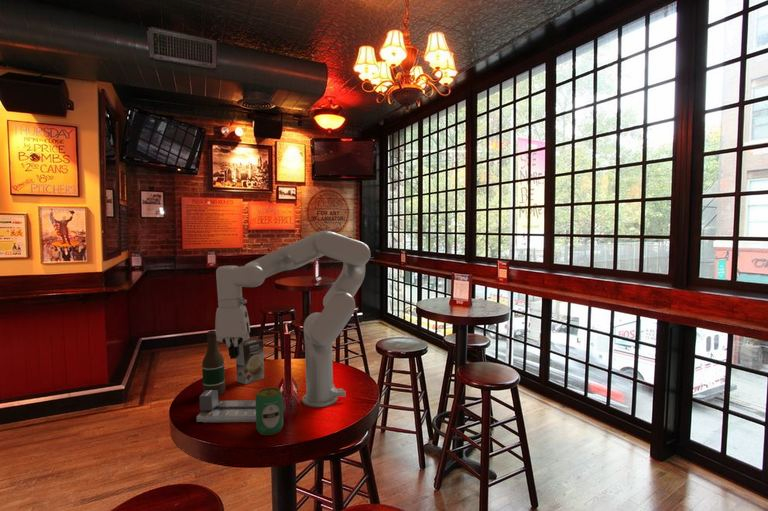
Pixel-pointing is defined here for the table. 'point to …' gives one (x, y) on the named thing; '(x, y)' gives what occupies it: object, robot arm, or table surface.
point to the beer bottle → (213, 366)
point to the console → (230, 412)
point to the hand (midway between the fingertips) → (234, 357)
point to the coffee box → (250, 361)
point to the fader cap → (209, 400)
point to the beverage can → (269, 411)
